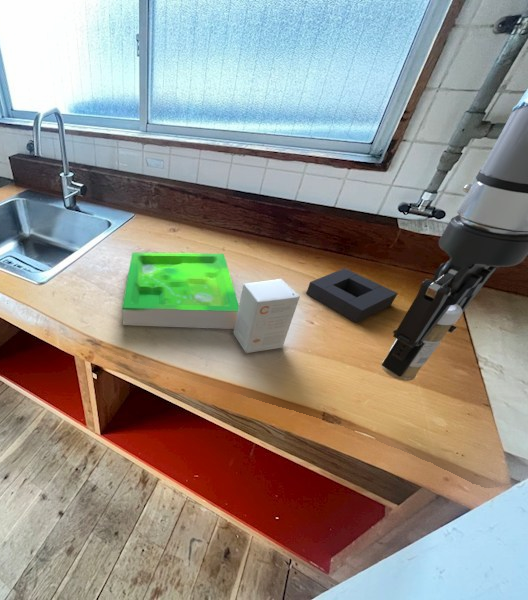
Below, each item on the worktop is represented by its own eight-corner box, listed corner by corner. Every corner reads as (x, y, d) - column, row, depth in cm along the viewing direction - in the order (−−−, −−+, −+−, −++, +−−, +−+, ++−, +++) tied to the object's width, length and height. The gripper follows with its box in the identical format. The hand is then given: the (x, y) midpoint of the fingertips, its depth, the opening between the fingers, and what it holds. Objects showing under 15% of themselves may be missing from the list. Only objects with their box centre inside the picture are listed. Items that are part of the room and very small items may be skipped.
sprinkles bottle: (400, 360, 53) (444, 293, 45) (422, 381, 49) (474, 313, 41) (373, 361, 53) (412, 295, 45) (392, 383, 49) (438, 315, 41)
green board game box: (221, 269, 90) (223, 253, 87) (236, 329, 70) (240, 311, 67) (132, 268, 93) (132, 252, 90) (123, 325, 73) (122, 307, 70)
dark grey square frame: (391, 305, 75) (398, 293, 73) (355, 323, 70) (362, 310, 68) (339, 279, 84) (344, 267, 82) (305, 293, 80) (310, 281, 77)
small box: (267, 328, 70) (282, 277, 62) (283, 348, 65) (301, 296, 57) (232, 333, 69) (242, 282, 61) (245, 354, 64) (258, 302, 56)
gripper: (492, 199, 42) (408, 331, 56) (415, 227, 36) (342, 368, 50) (576, 217, 37) (460, 359, 50) (502, 254, 31) (393, 404, 44)
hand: (401, 363), depth 50 cm, fingers closed on sprinkles bottle, 4 cm apart
